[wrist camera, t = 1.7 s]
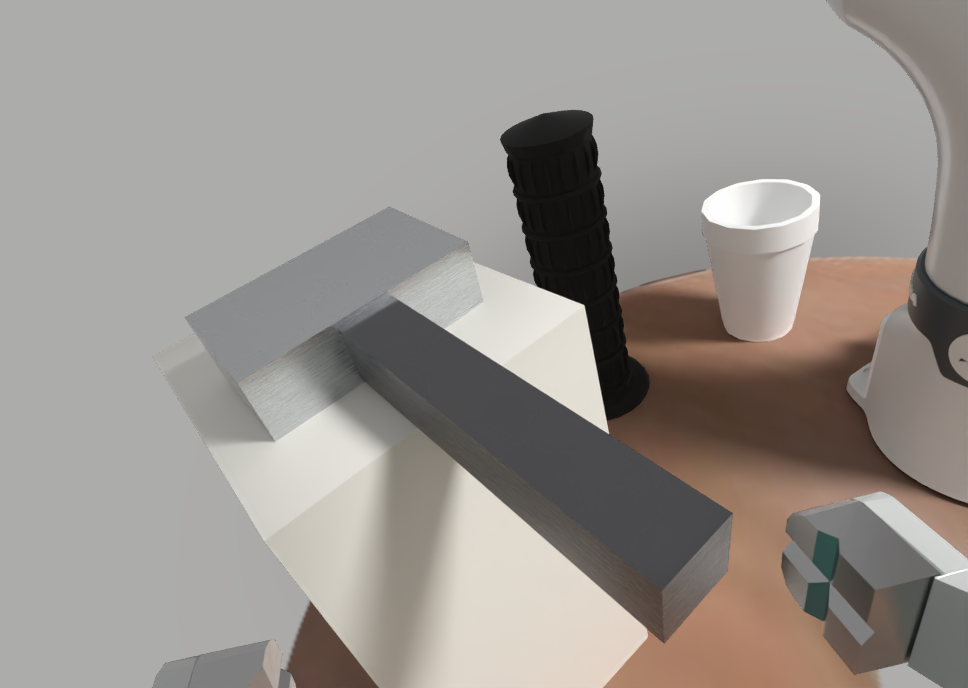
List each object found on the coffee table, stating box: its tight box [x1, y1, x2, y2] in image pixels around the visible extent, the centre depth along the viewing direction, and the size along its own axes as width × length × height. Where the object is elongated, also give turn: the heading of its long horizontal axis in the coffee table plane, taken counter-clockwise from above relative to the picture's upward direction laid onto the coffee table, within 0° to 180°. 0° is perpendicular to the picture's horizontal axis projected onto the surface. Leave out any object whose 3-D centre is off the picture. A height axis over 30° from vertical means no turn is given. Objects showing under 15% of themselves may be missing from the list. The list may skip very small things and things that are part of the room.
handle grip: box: [500, 110, 649, 420], centre depth 51 cm, size 10×26×10 cm
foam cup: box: [701, 179, 820, 342], centre depth 56 cm, size 10×9×13 cm
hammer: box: [185, 207, 733, 643], centre depth 20 cm, size 10×20×3 cm, turn 39°
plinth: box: [153, 262, 648, 688], centre depth 34 cm, size 14×16×26 cm
